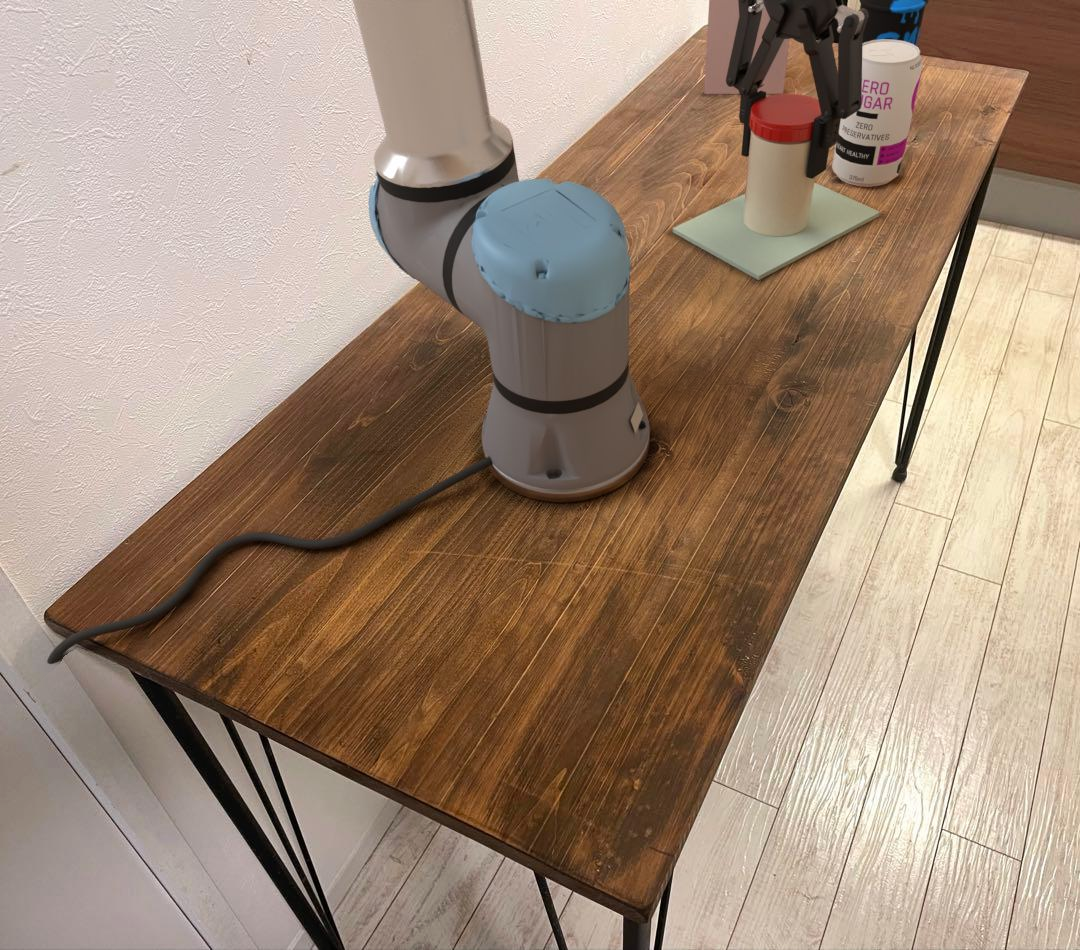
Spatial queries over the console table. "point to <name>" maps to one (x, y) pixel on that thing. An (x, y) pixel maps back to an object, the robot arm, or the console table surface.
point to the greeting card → (721, 44)
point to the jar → (777, 187)
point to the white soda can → (879, 115)
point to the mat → (768, 254)
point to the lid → (784, 117)
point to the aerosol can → (893, 19)
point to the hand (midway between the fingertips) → (782, 162)
